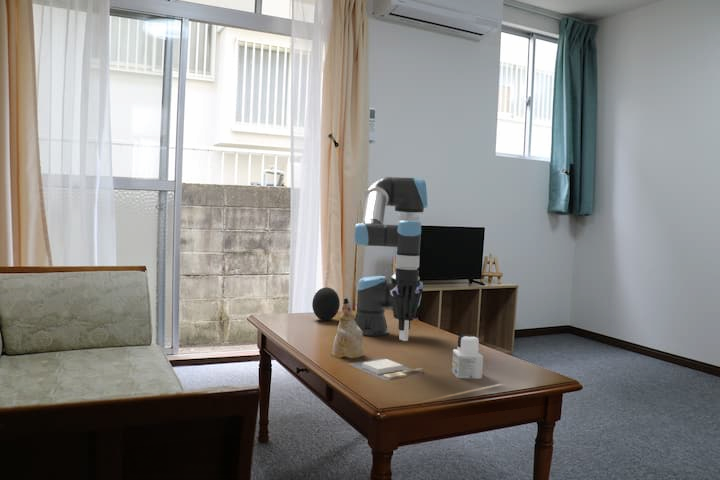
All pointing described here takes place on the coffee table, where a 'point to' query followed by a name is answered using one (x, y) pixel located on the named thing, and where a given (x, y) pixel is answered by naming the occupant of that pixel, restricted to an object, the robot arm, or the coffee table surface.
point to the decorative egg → (326, 303)
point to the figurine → (348, 335)
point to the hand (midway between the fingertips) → (403, 339)
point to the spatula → (403, 373)
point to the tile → (382, 366)
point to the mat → (359, 366)
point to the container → (467, 358)
